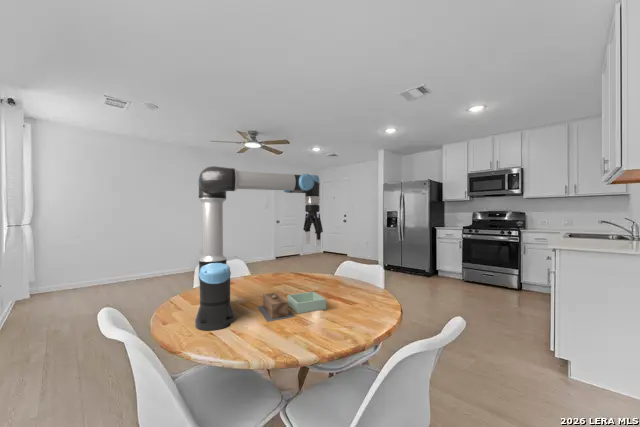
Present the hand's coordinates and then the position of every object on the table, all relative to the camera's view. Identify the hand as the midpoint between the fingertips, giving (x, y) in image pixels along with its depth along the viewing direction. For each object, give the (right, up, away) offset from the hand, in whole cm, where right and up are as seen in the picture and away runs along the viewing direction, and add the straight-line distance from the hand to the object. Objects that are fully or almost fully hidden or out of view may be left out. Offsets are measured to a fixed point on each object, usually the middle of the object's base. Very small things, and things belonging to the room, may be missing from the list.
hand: (312, 244), depth 144 cm
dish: (-3, -28, -16) cm, 32 cm away
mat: (-16, -28, -22) cm, 39 cm away
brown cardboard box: (-16, -27, -22) cm, 39 cm away
